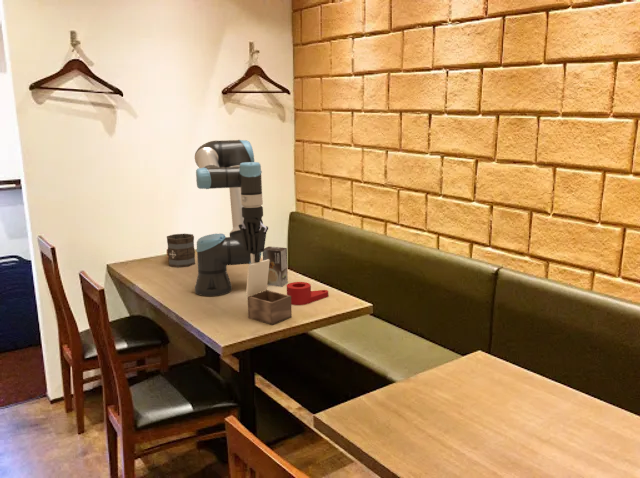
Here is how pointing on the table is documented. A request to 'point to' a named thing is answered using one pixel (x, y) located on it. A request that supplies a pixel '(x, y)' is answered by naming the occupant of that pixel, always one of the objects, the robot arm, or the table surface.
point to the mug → (181, 250)
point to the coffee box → (276, 265)
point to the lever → (304, 293)
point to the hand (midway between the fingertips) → (255, 270)
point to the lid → (257, 277)
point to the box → (269, 307)
